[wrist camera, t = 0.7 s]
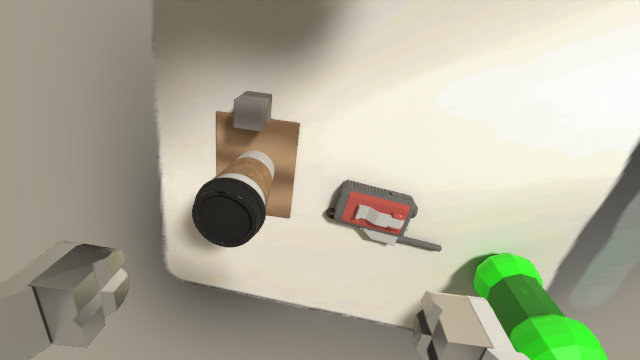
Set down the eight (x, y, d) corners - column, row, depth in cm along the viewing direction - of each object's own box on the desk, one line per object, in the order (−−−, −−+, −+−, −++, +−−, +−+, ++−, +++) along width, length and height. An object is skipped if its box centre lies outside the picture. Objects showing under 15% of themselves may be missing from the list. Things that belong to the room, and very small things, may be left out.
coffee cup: (283, 145, 47) (261, 191, 34) (281, 195, 51) (260, 255, 37) (227, 139, 47) (182, 183, 34) (229, 189, 51) (189, 248, 38)
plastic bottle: (534, 241, 52) (681, 403, 30) (518, 290, 57) (635, 462, 34) (471, 240, 53) (569, 397, 30) (460, 289, 58) (538, 457, 35)
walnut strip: (216, 86, 44) (199, 94, 39) (302, 98, 45) (297, 108, 39) (217, 206, 53) (203, 227, 47) (289, 217, 53) (284, 239, 47)
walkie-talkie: (322, 220, 54) (436, 249, 55) (321, 236, 50) (443, 266, 51) (337, 174, 50) (458, 206, 51) (336, 187, 46) (468, 221, 47)
